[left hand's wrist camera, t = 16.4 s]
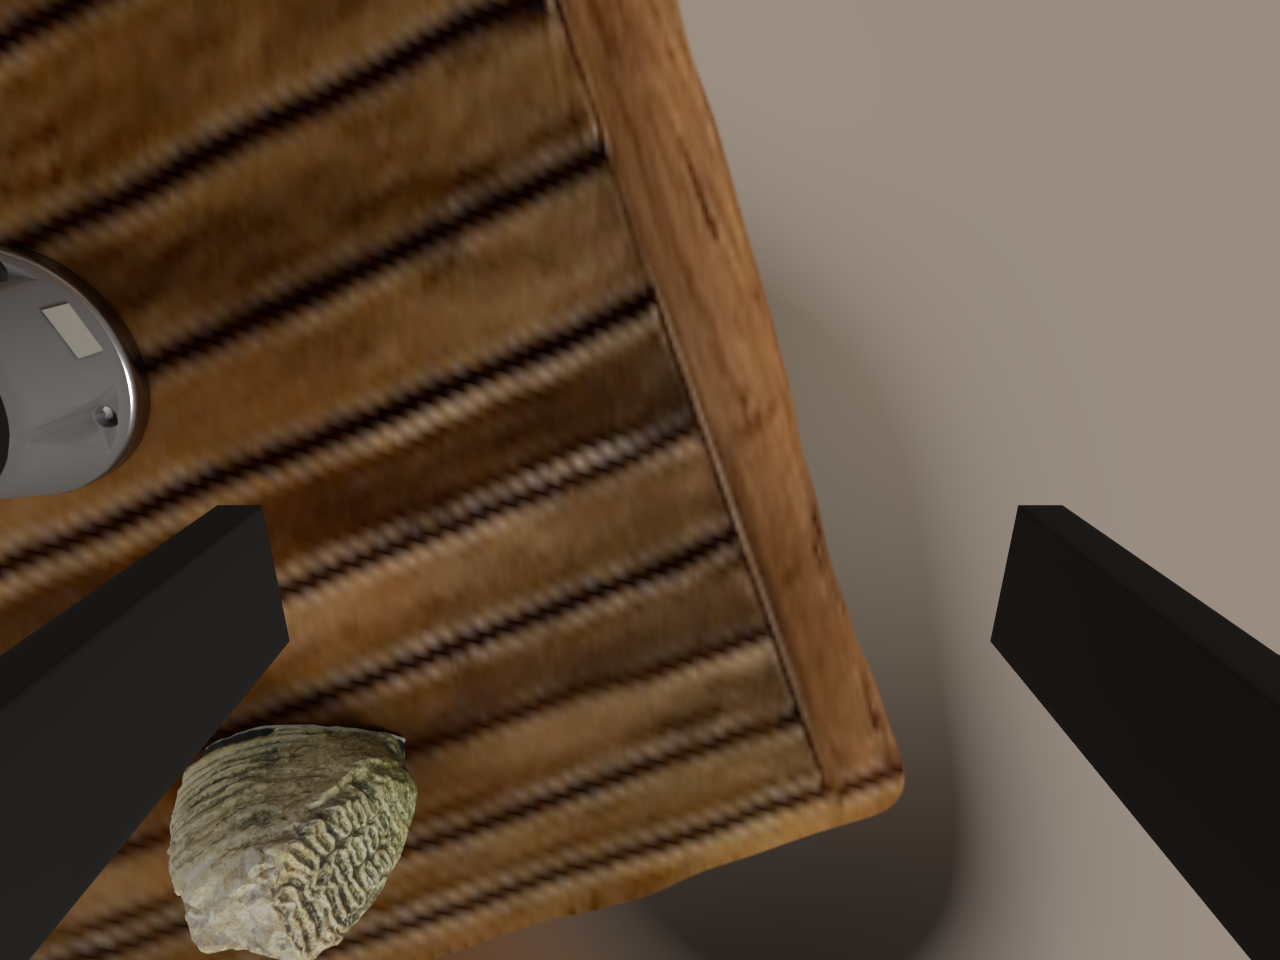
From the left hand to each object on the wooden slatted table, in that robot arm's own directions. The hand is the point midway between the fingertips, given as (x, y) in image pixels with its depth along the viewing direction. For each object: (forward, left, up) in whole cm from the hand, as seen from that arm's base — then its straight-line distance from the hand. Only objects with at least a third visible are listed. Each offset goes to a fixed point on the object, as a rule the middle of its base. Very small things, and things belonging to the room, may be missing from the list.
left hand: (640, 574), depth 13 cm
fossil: (-37, -20, -33) cm, 54 cm away
